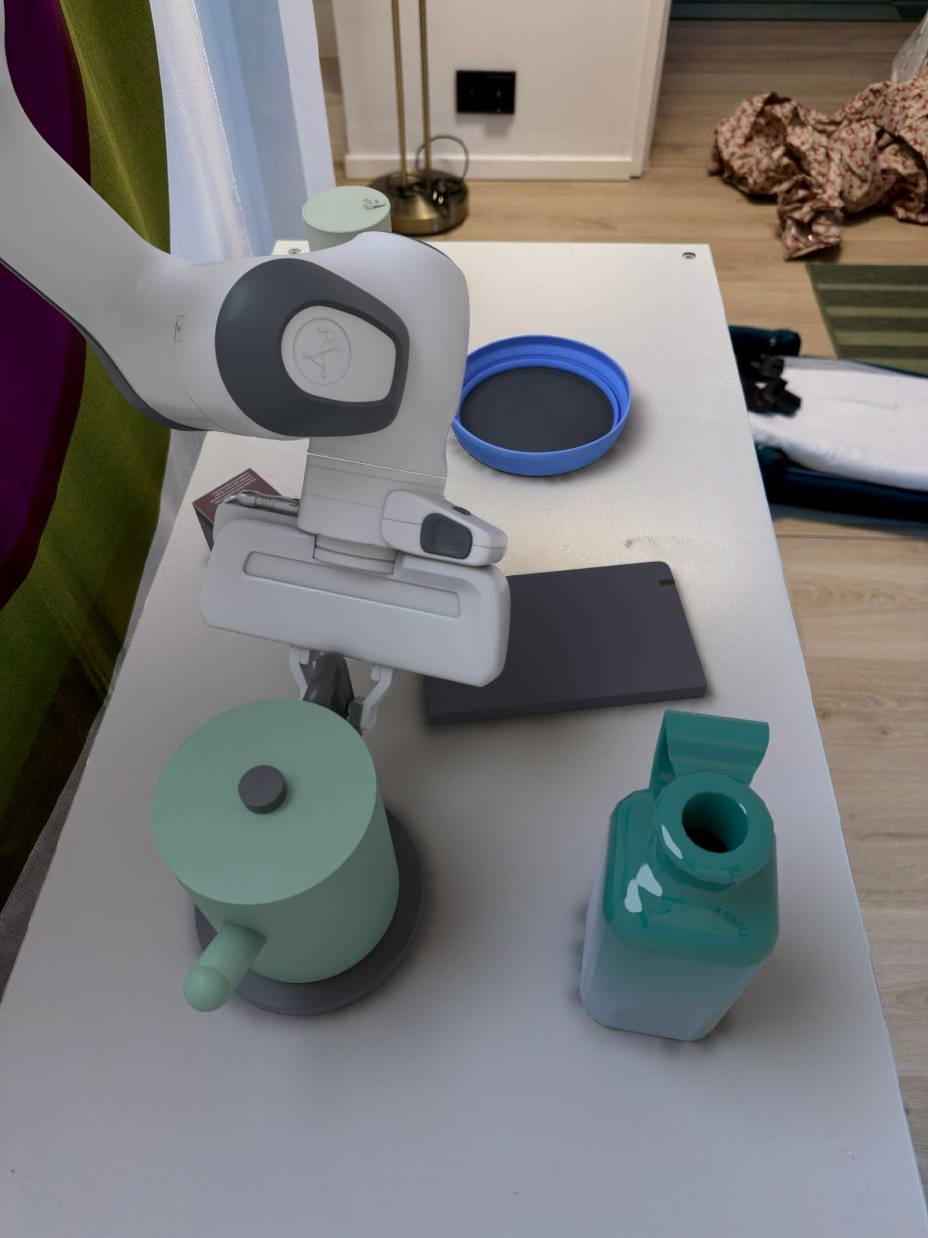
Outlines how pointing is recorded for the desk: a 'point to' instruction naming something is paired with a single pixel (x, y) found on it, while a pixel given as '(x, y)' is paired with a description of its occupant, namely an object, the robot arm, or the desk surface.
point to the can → (344, 215)
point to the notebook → (583, 646)
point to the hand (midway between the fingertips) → (336, 721)
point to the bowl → (541, 404)
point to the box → (211, 500)
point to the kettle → (279, 838)
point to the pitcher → (684, 885)
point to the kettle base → (362, 974)
